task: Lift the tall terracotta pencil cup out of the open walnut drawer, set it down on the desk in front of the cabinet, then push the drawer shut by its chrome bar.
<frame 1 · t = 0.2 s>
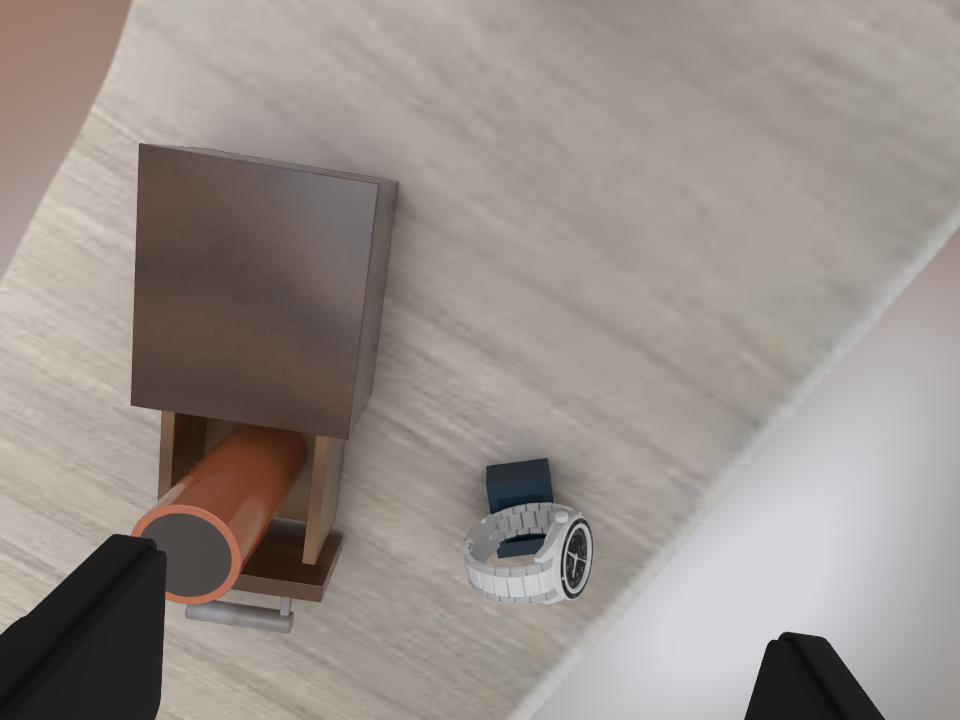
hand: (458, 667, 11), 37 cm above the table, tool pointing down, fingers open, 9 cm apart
pencil cup: (266, 453, 47), point 2 cm above the table, touching drawer
watch: (523, 495, 50), on the table
cabinet: (290, 277, 46), on the table
drawer: (253, 501, 46), point 4 cm above the table, slide at 10.5 cm, touching pencil cup
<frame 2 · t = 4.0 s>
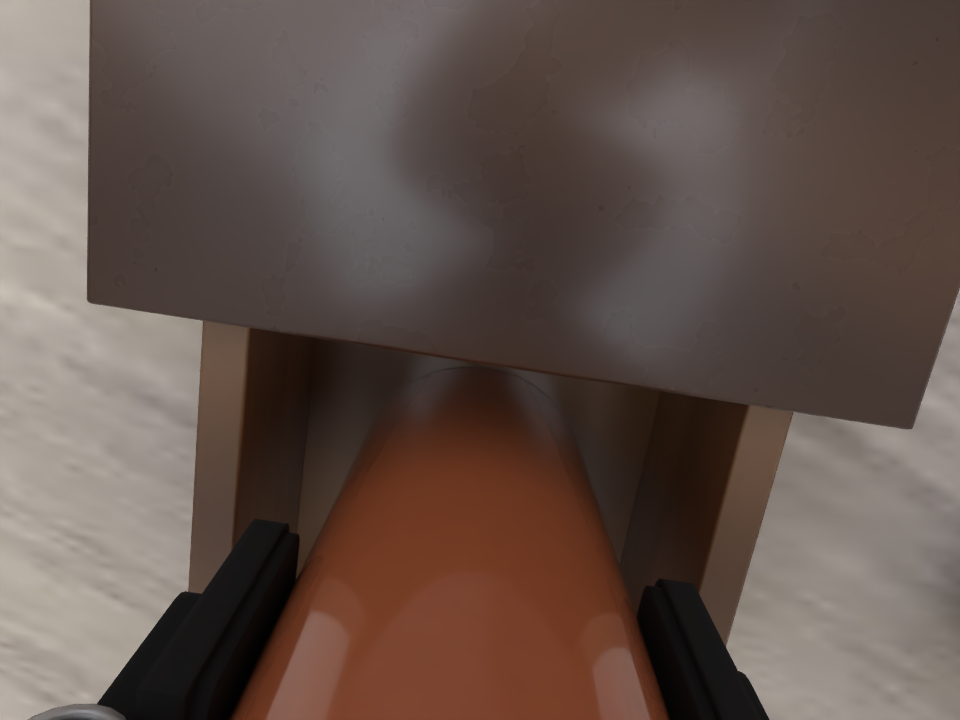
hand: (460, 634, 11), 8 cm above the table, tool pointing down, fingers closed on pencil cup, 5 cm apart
pencil cup: (471, 474, 17), point 2 cm above the table, touching drawer, gripper
drawer: (451, 612, 16), point 4 cm above the table, slide at 10.5 cm, touching pencil cup
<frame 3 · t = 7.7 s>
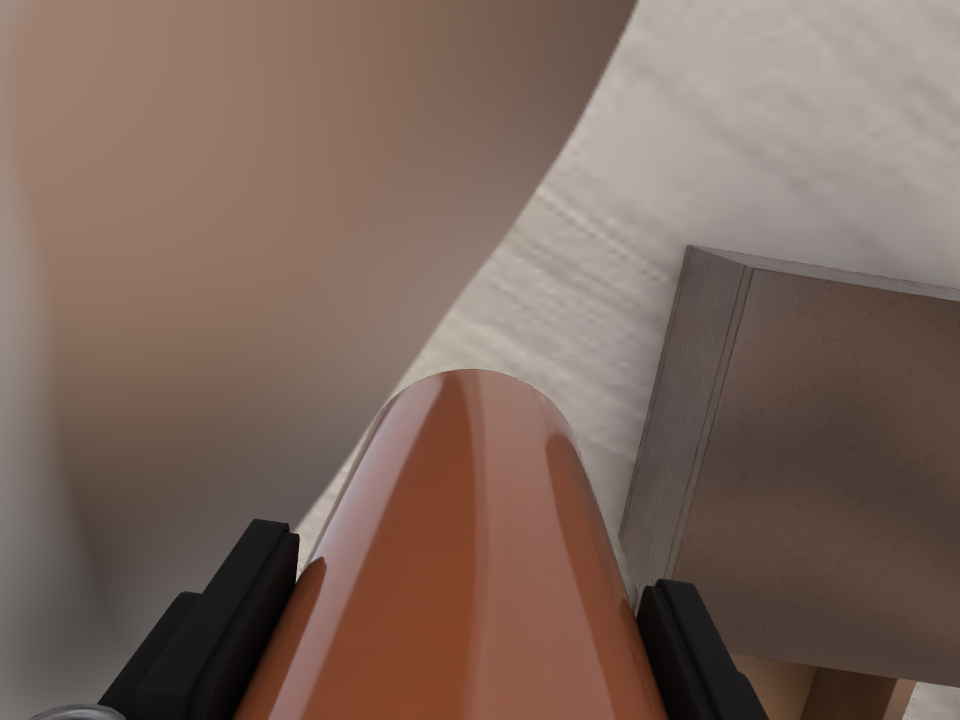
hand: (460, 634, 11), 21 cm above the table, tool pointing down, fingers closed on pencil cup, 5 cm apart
pencil cup: (471, 475, 17), point 15 cm above the table, touching gripper
cabinet: (781, 419, 33), on the table
when the fingers open (6 cm above the table, at t = 11.5 s): pencil cup stays where it is, on the table.
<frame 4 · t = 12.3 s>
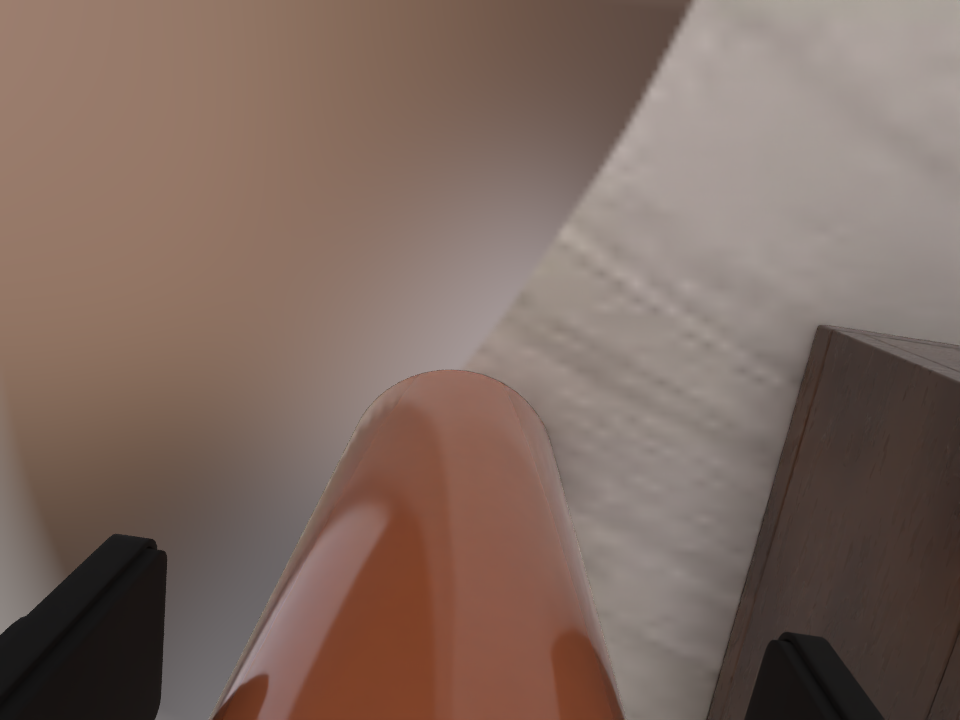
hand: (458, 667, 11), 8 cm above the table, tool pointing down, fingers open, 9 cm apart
pencil cup: (450, 468, 19), on the table
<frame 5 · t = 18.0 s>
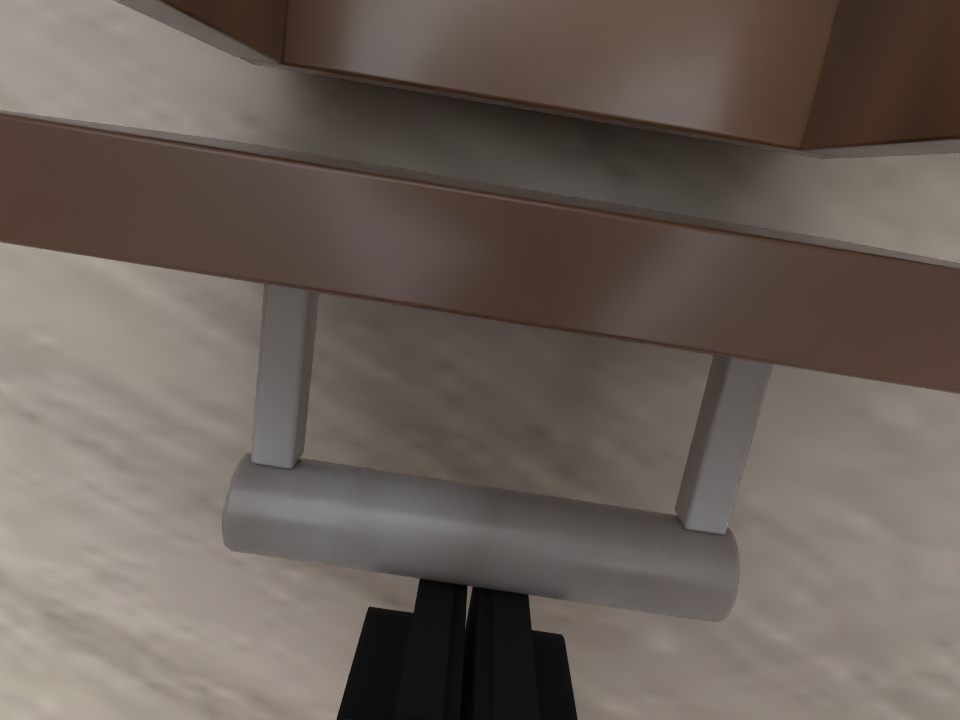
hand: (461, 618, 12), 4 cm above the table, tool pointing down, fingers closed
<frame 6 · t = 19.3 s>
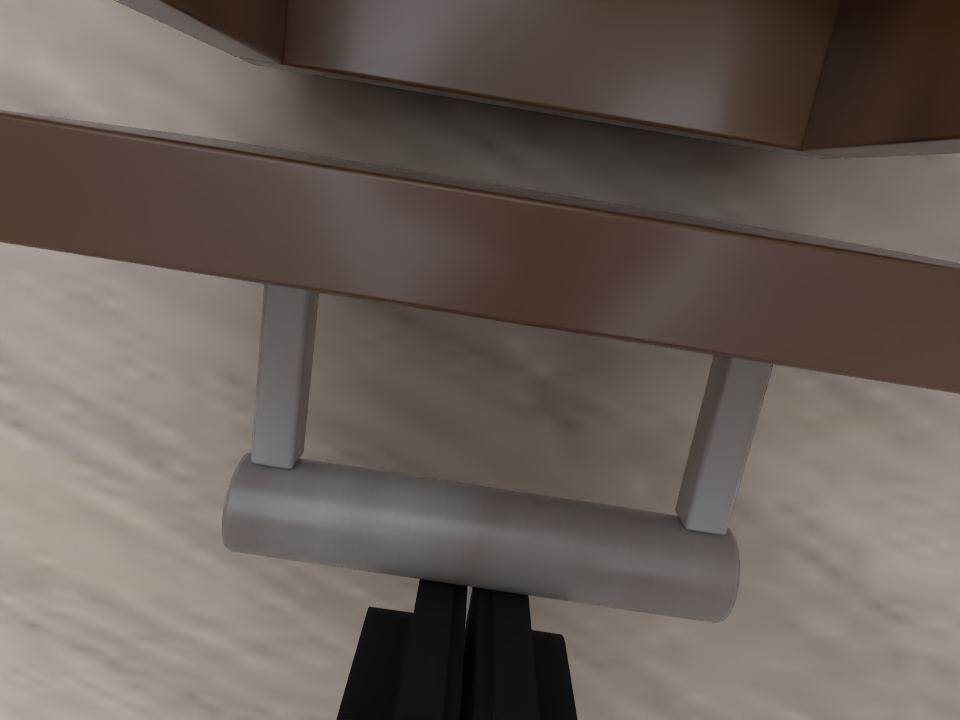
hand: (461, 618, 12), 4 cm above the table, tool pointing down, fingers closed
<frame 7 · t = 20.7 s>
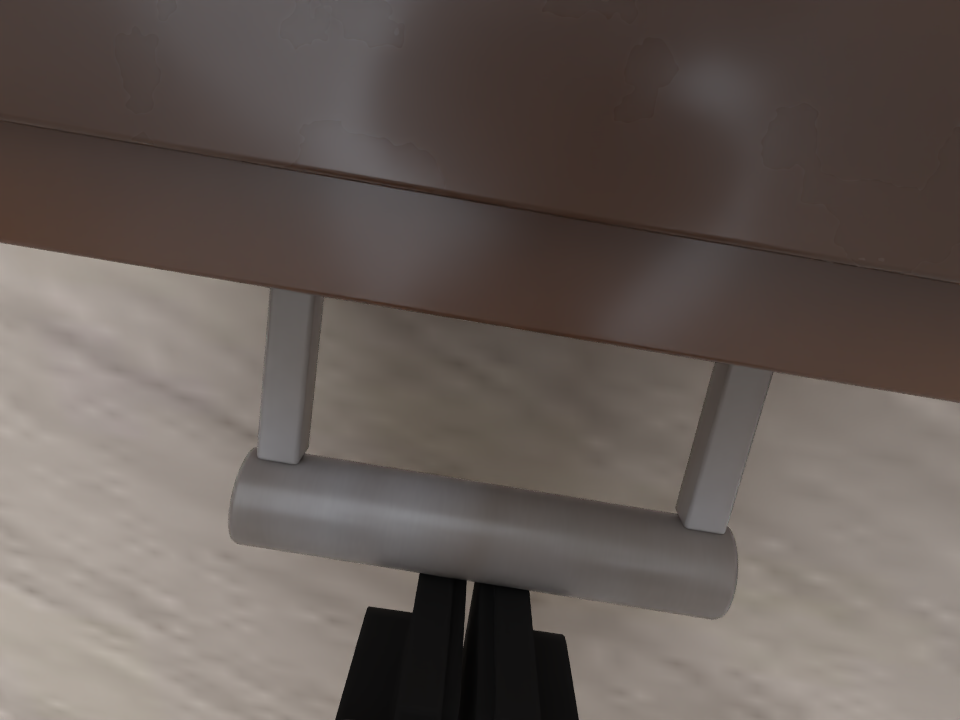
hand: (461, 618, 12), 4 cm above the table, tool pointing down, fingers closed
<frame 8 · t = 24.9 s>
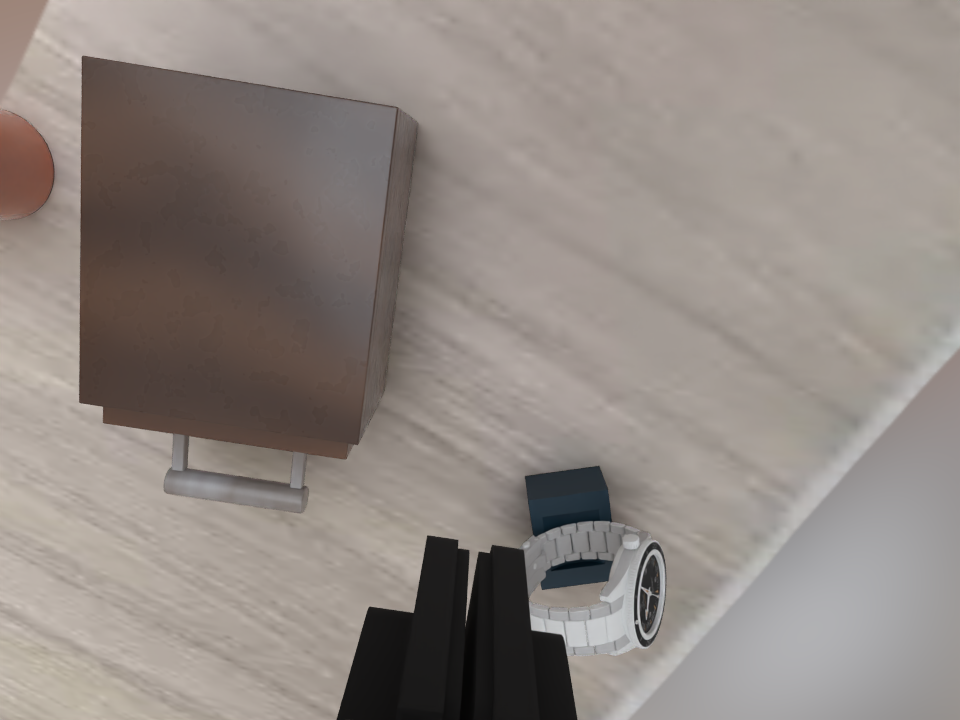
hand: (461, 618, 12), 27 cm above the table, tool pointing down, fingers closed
pencil cup: (0, 164, 36), on the table
watch: (569, 511, 41), on the table
cabinet: (284, 245, 37), on the table
drawer: (254, 332, 34), point 4 cm above the table, slide at 0.0 cm, touching cabinet
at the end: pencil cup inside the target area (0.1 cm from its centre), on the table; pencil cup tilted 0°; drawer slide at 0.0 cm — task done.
